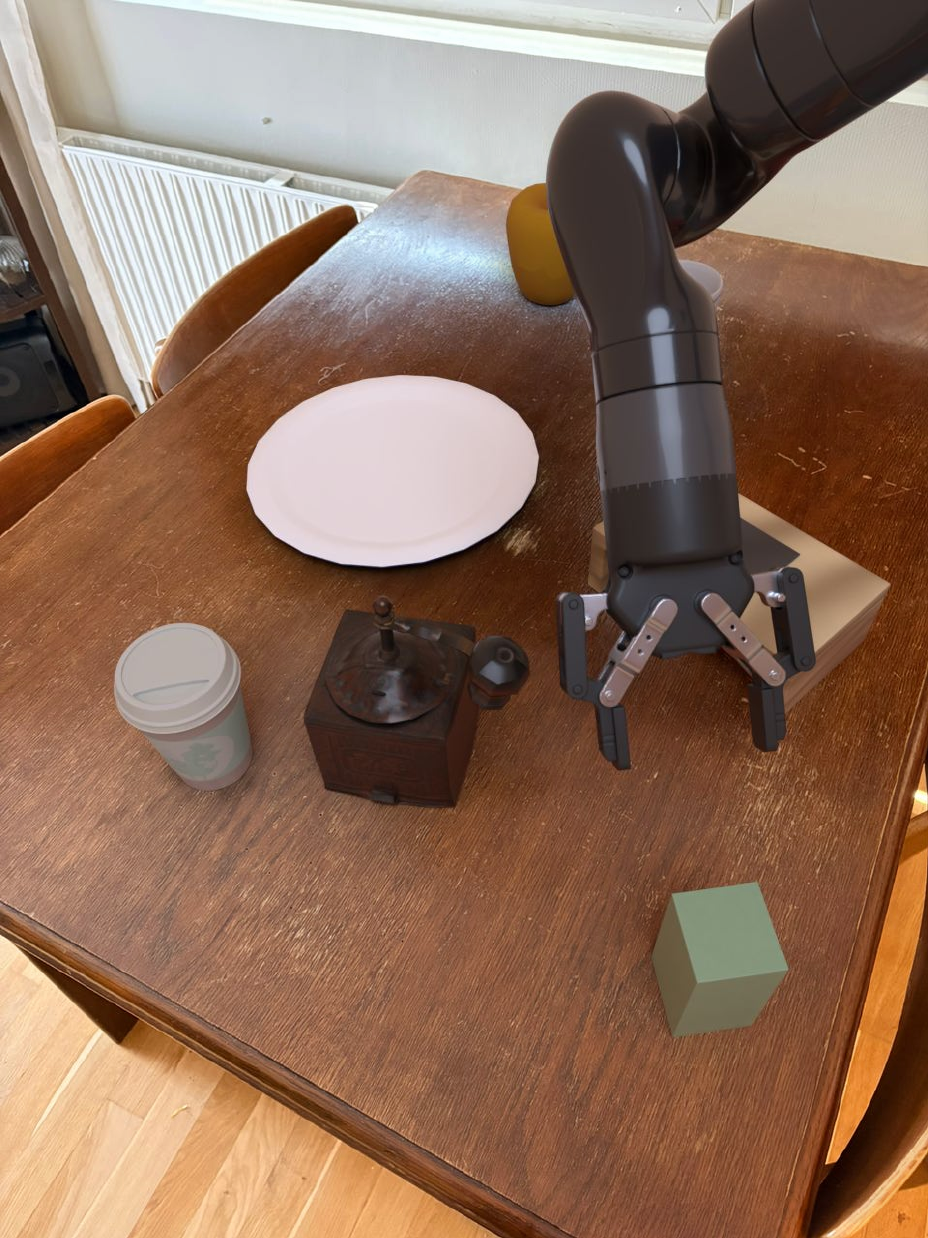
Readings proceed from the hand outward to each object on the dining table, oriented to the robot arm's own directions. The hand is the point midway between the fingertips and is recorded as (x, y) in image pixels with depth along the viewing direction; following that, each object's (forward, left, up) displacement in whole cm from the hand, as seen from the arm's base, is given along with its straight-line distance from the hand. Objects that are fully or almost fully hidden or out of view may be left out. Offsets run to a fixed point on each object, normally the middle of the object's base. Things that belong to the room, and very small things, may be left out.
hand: (694, 758), depth 52 cm
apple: (+59, -47, -14) cm, 77 cm away
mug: (+38, -45, -14) cm, 60 cm away
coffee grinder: (+18, +6, -14) cm, 23 cm away
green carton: (-7, +5, -14) cm, 16 cm away
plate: (+46, -12, -14) cm, 49 cm away
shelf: (+12, -21, -14) cm, 28 cm away
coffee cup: (+29, +19, -14) cm, 37 cm away
